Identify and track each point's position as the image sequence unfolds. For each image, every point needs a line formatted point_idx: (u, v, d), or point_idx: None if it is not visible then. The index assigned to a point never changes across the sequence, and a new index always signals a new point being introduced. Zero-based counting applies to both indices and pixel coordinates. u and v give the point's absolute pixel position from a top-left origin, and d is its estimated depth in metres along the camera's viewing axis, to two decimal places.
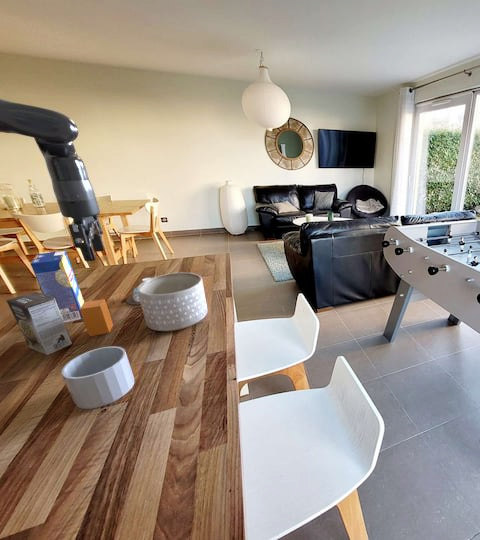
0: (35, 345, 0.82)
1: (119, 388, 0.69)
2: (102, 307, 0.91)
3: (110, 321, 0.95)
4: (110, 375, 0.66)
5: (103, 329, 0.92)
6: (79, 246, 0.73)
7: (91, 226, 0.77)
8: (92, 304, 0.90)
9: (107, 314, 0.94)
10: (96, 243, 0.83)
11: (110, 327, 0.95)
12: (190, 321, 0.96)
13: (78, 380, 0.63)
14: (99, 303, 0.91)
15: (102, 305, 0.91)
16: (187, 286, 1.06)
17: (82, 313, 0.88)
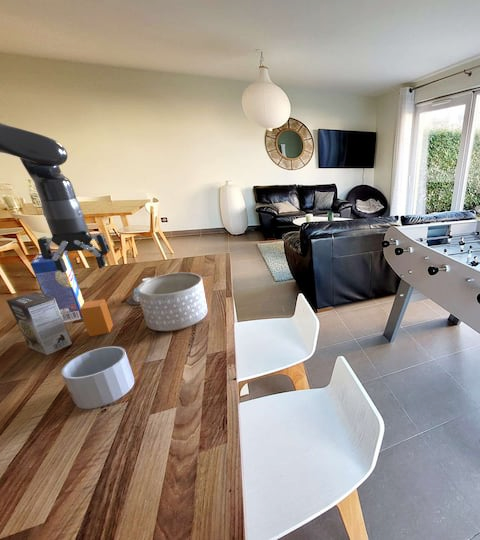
0: (35, 345, 0.82)
1: (119, 388, 0.69)
2: (102, 307, 0.91)
3: (110, 321, 0.95)
4: (110, 375, 0.66)
5: (103, 329, 0.92)
6: None
7: (61, 243, 0.80)
8: (92, 304, 0.90)
9: (107, 314, 0.94)
10: None
11: (110, 327, 0.95)
12: (190, 321, 0.96)
13: (78, 380, 0.63)
14: (99, 303, 0.91)
15: (102, 305, 0.91)
16: (187, 286, 1.06)
17: (82, 313, 0.88)
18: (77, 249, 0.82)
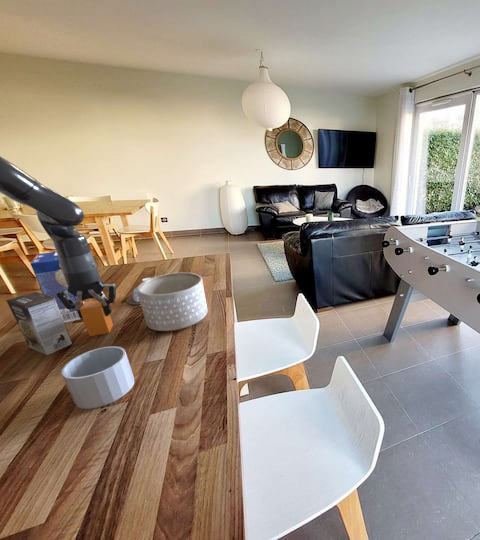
0: (35, 345, 0.82)
1: (119, 388, 0.69)
2: (102, 307, 0.91)
3: (110, 321, 0.95)
4: (110, 375, 0.66)
5: (103, 329, 0.92)
6: None
7: (77, 294, 0.86)
8: (92, 304, 0.90)
9: None
10: None
11: (110, 327, 0.95)
12: (190, 321, 0.96)
13: (78, 380, 0.63)
14: (99, 303, 0.91)
15: (102, 305, 0.91)
16: (187, 286, 1.06)
17: (82, 313, 0.88)
18: (91, 297, 0.89)
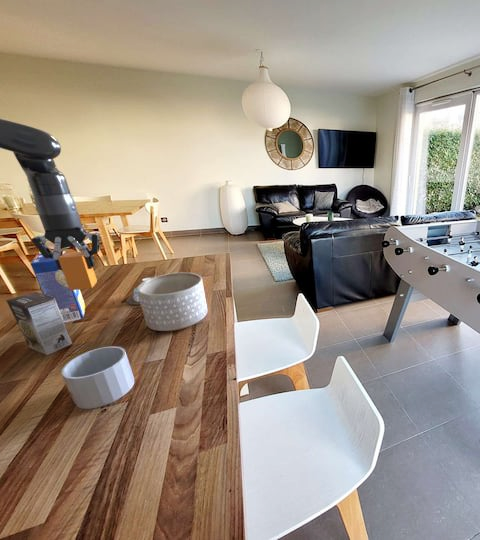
0: (35, 345, 0.82)
1: (119, 388, 0.69)
2: (84, 258, 0.82)
3: (93, 276, 0.86)
4: (110, 375, 0.66)
5: (86, 283, 0.83)
6: None
7: (55, 240, 0.77)
8: (72, 254, 0.81)
9: None
10: None
11: (93, 282, 0.86)
12: (190, 321, 0.96)
13: (78, 380, 0.63)
14: (80, 254, 0.82)
15: (84, 256, 0.82)
16: (187, 286, 1.06)
17: (61, 263, 0.79)
18: (71, 246, 0.80)
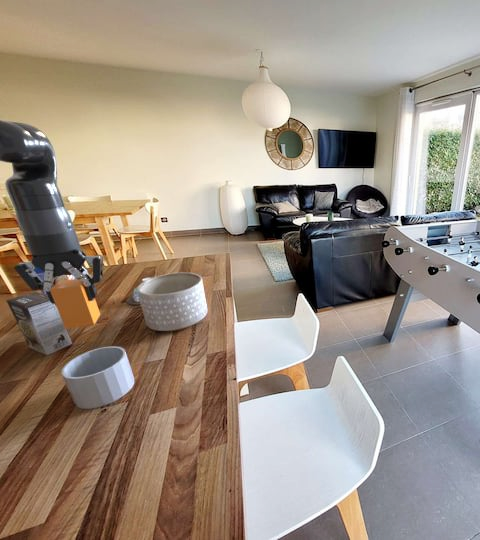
0: (35, 345, 0.82)
1: (119, 388, 0.69)
2: (83, 289, 0.64)
3: (96, 309, 0.69)
4: (110, 375, 0.66)
5: (86, 320, 0.65)
6: None
7: (45, 267, 0.60)
8: (69, 283, 0.63)
9: None
10: None
11: (96, 317, 0.68)
12: (190, 321, 0.96)
13: (78, 380, 0.63)
14: (79, 282, 0.64)
15: None
16: (187, 286, 1.06)
17: (54, 296, 0.61)
18: (66, 273, 0.62)
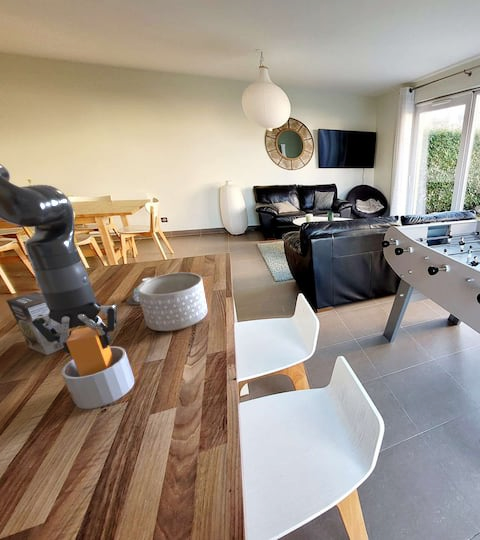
0: (35, 345, 0.82)
1: (119, 388, 0.69)
2: (98, 338, 0.65)
3: (109, 354, 0.70)
4: (110, 375, 0.66)
5: (100, 367, 0.67)
6: None
7: (62, 320, 0.61)
8: (84, 333, 0.65)
9: None
10: None
11: (109, 363, 0.69)
12: (190, 321, 0.96)
13: (78, 380, 0.63)
14: (93, 332, 0.65)
15: (98, 334, 0.66)
16: (187, 286, 1.06)
17: (70, 347, 0.63)
18: (82, 324, 0.63)
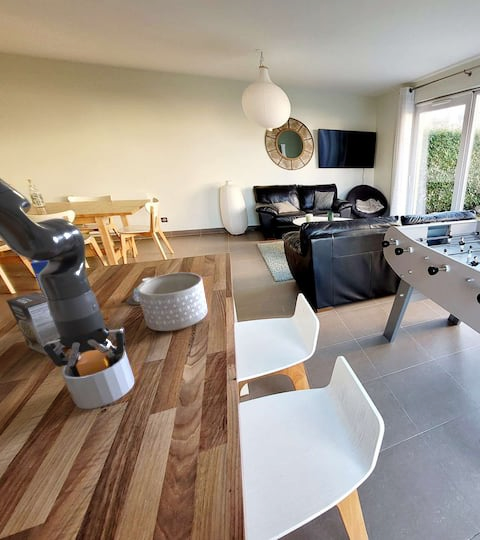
0: (35, 345, 0.82)
1: (119, 388, 0.69)
2: (106, 361, 0.68)
3: None
4: (110, 375, 0.66)
5: None
6: None
7: (72, 346, 0.63)
8: (93, 356, 0.67)
9: None
10: None
11: None
12: (190, 321, 0.96)
13: (78, 380, 0.63)
14: (102, 355, 0.68)
15: (106, 357, 0.68)
16: (187, 286, 1.06)
17: (80, 370, 0.65)
18: (91, 349, 0.66)
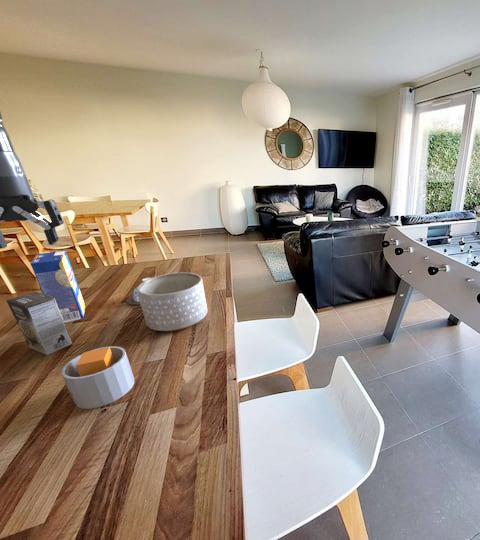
0: (35, 345, 0.82)
1: (119, 388, 0.69)
2: (106, 361, 0.68)
3: None
4: (110, 375, 0.66)
5: None
6: None
7: None
8: (93, 356, 0.67)
9: None
10: None
11: None
12: (190, 321, 0.96)
13: (78, 380, 0.63)
14: (102, 355, 0.68)
15: (106, 357, 0.68)
16: (187, 286, 1.06)
17: (80, 370, 0.65)
18: (18, 219, 0.64)
